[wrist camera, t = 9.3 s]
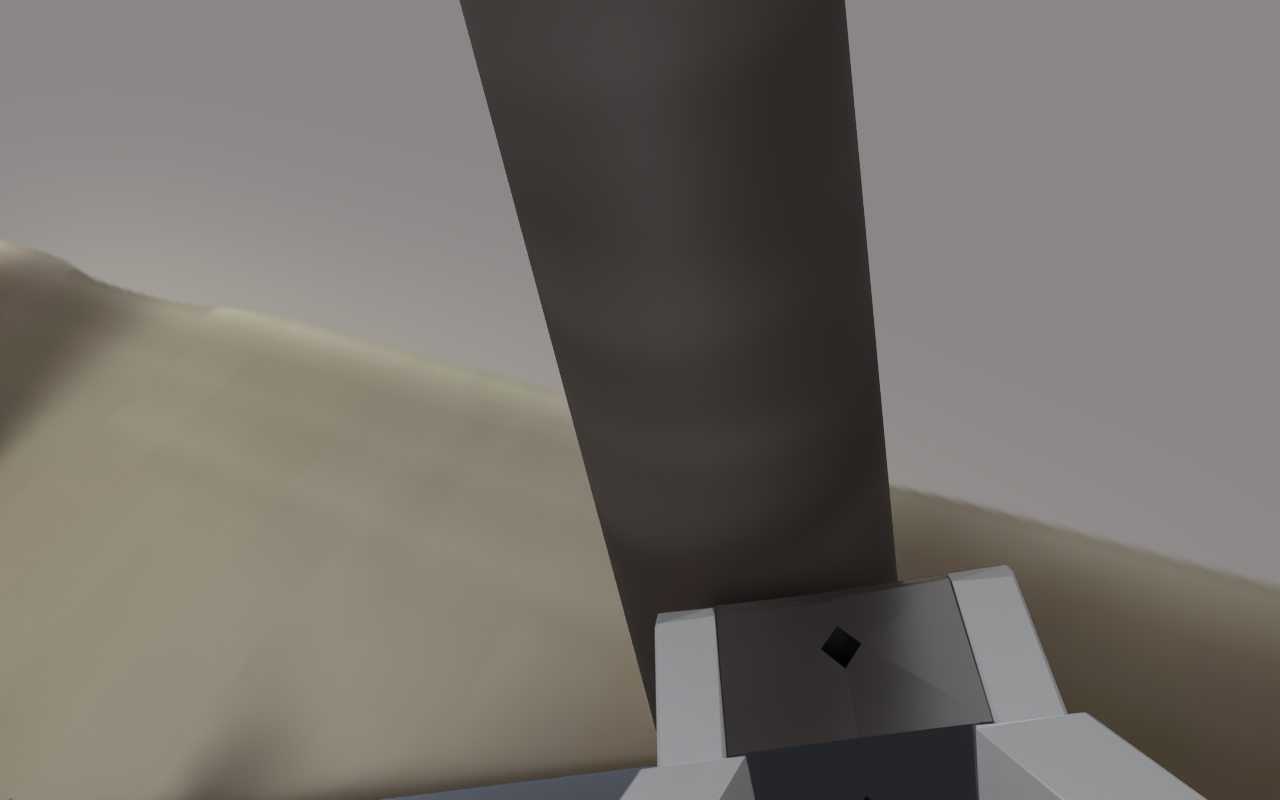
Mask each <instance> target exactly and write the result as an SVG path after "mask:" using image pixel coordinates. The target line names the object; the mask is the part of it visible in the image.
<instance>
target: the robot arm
mask: <svg viewBox="0 0 1280 800" xmlns="http://www.w3.org/2000/svg"><path fill="white" fill-rule="evenodd" d="M655 668H656V718H657V767H653V768H646V769H640V771H639V772H638V773H637V775H636V776H635V778H634V779H633V781H632V782H631V784H630V785H629V787H628V788H627V789H626V791H625V792H624V794H623V795H622V797H621V798H620V800H1207V799H1206V798H1205V797H1203V796H1202V795H1200V794H1199V793H1198V792H1196V791H1195V790H1194V789H1192V788H1191V787H1189V786H1188V785H1187V784H1185V783H1184V782H1182V781H1181V780H1180V779H1178V778H1177V777H1176V776H1174V775H1173V774H1171V773H1170V772H1169V771H1167V770H1166V769H1165V768H1163V767H1162V766H1160V765H1159V764H1158V763H1156V762H1155V761H1153V760H1152V759H1151V758H1149V757H1148V756H1147V755H1145V754H1144V753H1142V752H1141V751H1140V750H1138V749H1137V748H1135V747H1134V746H1133V745H1131V744H1130V743H1129V742H1127V741H1126V740H1124V739H1123V738H1122V737H1120V736H1119V735H1118V734H1116V733H1115V732H1113V731H1112V730H1111V729H1109V728H1108V727H1106V726H1105V725H1104V724H1102V723H1101V722H1100V721H1098V720H1097V719H1095V718H1094V717H1093V716H1091V715H1090V714H1089V713H1087V712H1084V713H1073V714H1068V713H1067V711H1066V708H1065V705H1064V703H1063V700H1062V698H1061V695H1060V692H1059V690H1058V687H1057V684H1056V682H1055V679H1054V677H1053V674H1052V671H1051V669H1050V666H1049V663H1048V661H1047V658H1046V655H1045V653H1044V650H1043V648H1042V645H1041V642H1040V640H1039V637H1038V634H1037V632H1036V629H1035V626H1034V624H1033V621H1032V619H1031V616H1030V613H1029V611H1028V608H1027V605H1026V603H1025V600H1024V597H1023V595H1022V592H1021V590H1020V587H1019V584H1018V582H1017V579H1016V576H1015V574H1014V572H1013V571H1012V570H1011V569H1010V568H1009V567H1008V566H1007V565H1001V566H994V567H988V568H981V569H975V570H968V571H962V572H955V573H949V574H947V576H945V575H937V576H930V577H924V578H917V579H910V580H904V581H897V582H891V583H884V584H877V585H871V586H864V587H857V588H851V589H844V590H837V591H831V592H829V593H821V594H812V595H804V596H795V597H786V598H778V599H769V600H761V601H752V602H744V603H735V604H727V605H718V606H716V607H713V608H704V609H695V610H686V611H677V612H668V613H659V614H658V616H657V621H656V625H655Z"/></svg>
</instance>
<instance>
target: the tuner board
mask: <svg viewBox="0 0 1280 800" xmlns="http://www.w3.org/2000/svg"><path fill="white" fill-rule="evenodd" d="M653 767H657V765H653V766H645V767H636V768H628V769H620V770H612V771H604V772H596V773H588V774H580V775H572V776H564V777H556V778H548V779H540V780H532V781H524V782H516V783H508V784H500V785H492V786H484V787H476V788H468V789H460V790H452V791H444V792H436V793H428V794H420V795H412V796H404V797H396V798H388V799H380V800H620V798H621V797H622V795H623V794H624V792H625V791H626V789H627V788H628V787H629V785H630V784H631V782H632V781H633V779H634V778H635V776H636V775H637V773H638V772H639V771H640V769H646V768H653Z"/></svg>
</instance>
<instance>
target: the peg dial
mask: <svg viewBox="0 0 1280 800" xmlns="http://www.w3.org/2000/svg"><path fill="white" fill-rule="evenodd" d="M460 4H461V7H462V11H463V15H464V18H465V22H466V26H467V30H468V33H469V37H470V40H471V44H472V48H473V52H474V56H475V59H476V63H477V67H478V70H479V74H480V78H481V82H482V85H483V89H484V93H485V96H486V100H487V104H488V108H489V111H490V115H491V119H492V123H493V126H494V130H495V134H496V137H497V141H498V145H499V149H500V152H501V156H502V159H503V163H504V167H505V171H506V175H507V178H508V182H509V186H510V189H511V193H512V197H513V200H514V204H515V208H516V212H517V215H518V219H519V223H520V226H521V230H522V234H523V237H524V241H525V245H526V249H527V252H528V256H529V260H530V264H531V267H532V271H533V275H534V278H535V282H536V286H537V289H538V294H539V297H540V301H541V304H542V308H543V312H544V316H545V320H546V323H547V327H548V331H549V334H550V338H551V342H552V346H553V349H554V353H555V357H556V360H557V364H558V368H559V372H560V375H561V379H562V382H563V386H564V390H565V394H566V398H567V401H568V405H569V409H570V412H571V416H572V420H573V424H574V427H575V431H576V435H577V438H578V442H579V446H580V450H581V453H582V457H583V461H584V464H585V468H586V472H587V476H588V479H589V483H590V487H591V491H592V494H593V498H594V502H595V505H596V509H597V513H598V517H599V520H600V524H601V528H602V531H603V535H604V539H605V543H606V546H607V550H608V554H609V557H610V561H611V565H612V569H613V572H614V576H615V580H616V583H617V587H618V591H619V595H620V598H621V602H622V606H623V609H624V613H625V617H626V621H627V624H628V628H629V632H630V635H631V639H632V643H633V647H634V650H635V654H636V658H637V661H638V665H639V669H640V673H641V676H642V680H643V684H644V688H645V691H646V695H647V699H648V702H649V706H650V710H651V714H652V717H653V721H654V725H655V728H656V732H657V718H656V668H655V625H656V621H657V616H658V614H659V613H668V612H677V611H686V610H695V609H704V608H713V607H716V606H718V605H727V604H735V603H744V602H752V601H761V600H769V599H778V598H786V597H795V596H804V595H812V594H821V593H829V592H831V591H837V590H844V589H851V588H857V587H864V586H871V585H877V584H884V583H891V582H897V581H898V580H897V569H896V558H895V547H894V536H893V525H892V514H891V503H890V492H889V481H888V471H887V460H886V450H885V438H884V427H883V416H882V405H881V394H880V383H879V372H878V361H877V350H876V339H875V328H874V317H873V306H872V295H871V284H870V273H869V263H868V251H867V240H866V229H865V218H864V207H863V196H862V185H861V174H860V163H859V152H858V141H857V130H856V120H855V108H854V97H853V86H852V75H851V64H850V53H849V42H848V31H847V20H846V9H845V0H460ZM8 800H12V799H11V798H10V799H8Z"/></svg>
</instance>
